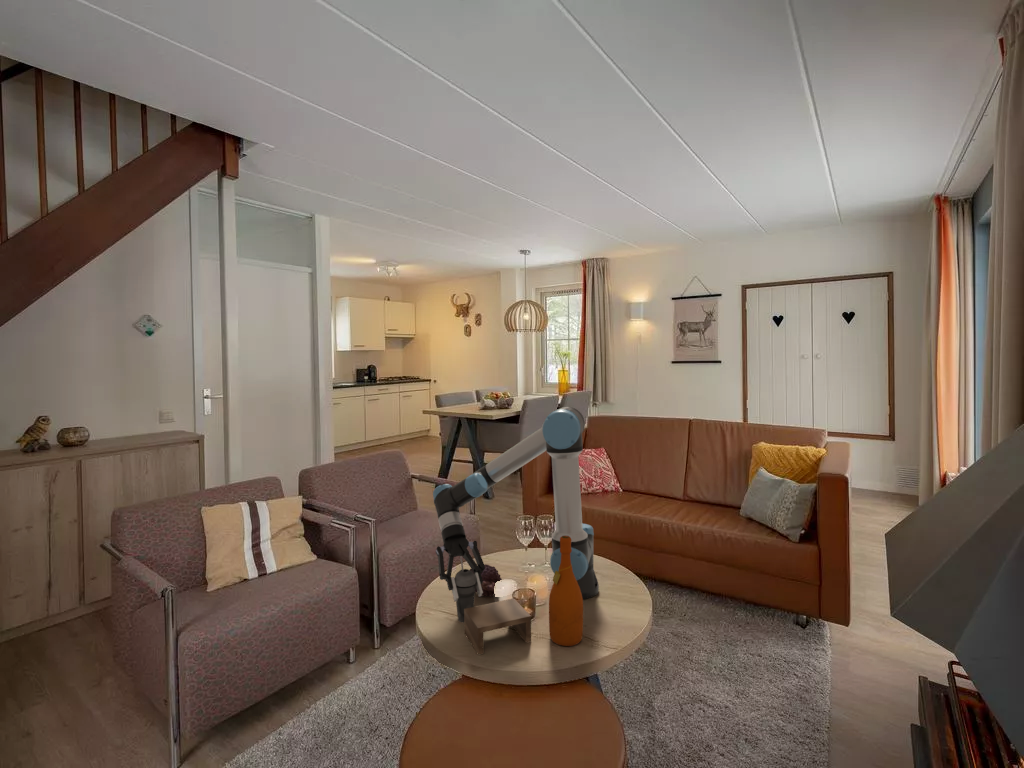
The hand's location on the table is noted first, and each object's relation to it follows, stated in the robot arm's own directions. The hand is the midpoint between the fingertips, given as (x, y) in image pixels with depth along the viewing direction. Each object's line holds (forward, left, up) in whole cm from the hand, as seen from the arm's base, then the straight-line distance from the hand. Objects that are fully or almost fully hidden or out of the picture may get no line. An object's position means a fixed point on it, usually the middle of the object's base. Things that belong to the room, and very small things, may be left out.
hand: (468, 597), depth 156 cm
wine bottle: (-23, +19, -9) cm, 31 cm away
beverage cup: (0, -3, -9) cm, 9 cm away
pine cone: (-12, -17, -9) cm, 22 cm away
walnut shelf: (-5, +11, -9) cm, 14 cm away
